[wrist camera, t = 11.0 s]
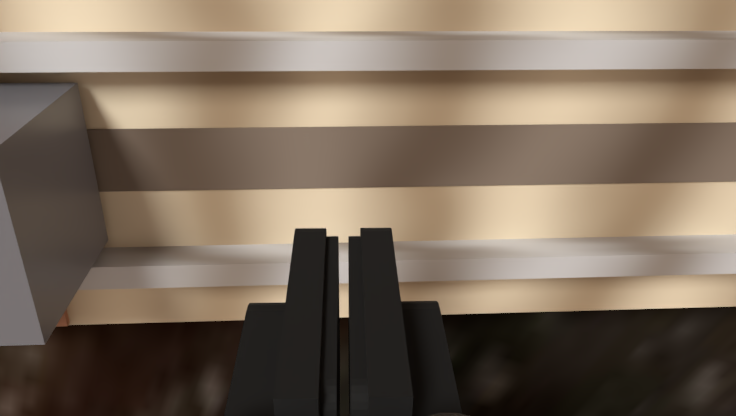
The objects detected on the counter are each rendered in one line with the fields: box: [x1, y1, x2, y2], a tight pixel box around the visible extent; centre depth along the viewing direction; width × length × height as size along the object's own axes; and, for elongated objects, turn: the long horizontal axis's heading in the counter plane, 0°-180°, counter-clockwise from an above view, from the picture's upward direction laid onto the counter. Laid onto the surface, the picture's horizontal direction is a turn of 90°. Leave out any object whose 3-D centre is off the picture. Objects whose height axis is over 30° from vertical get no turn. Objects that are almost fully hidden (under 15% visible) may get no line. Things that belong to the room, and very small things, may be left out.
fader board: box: [0, 0, 736, 327], centre depth 20 cm, size 34×12×3 cm, turn 89°
